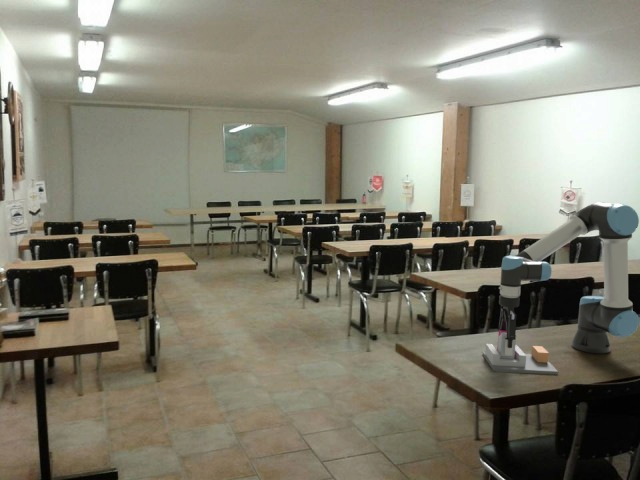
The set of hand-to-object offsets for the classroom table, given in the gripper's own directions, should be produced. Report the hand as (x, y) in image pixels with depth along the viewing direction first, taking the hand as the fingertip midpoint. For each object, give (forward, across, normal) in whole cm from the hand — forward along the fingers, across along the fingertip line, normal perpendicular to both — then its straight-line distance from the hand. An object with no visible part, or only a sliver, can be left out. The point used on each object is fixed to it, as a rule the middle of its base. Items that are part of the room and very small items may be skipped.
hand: (505, 351), depth 216 cm
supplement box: (+4, 0, 0) cm, 4 cm away
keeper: (+3, -3, +15) cm, 15 cm away
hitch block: (+5, 0, +6) cm, 7 cm away
